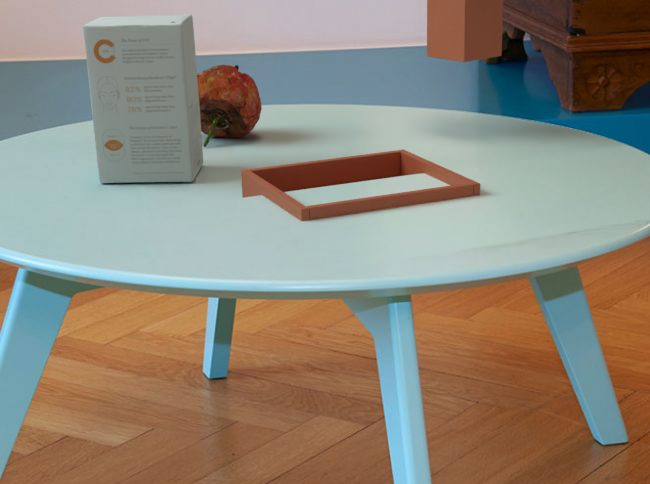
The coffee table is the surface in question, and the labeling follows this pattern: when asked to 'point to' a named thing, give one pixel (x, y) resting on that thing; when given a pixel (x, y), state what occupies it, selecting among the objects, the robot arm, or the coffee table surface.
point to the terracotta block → (464, 29)
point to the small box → (144, 98)
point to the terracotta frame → (349, 171)
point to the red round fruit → (227, 102)
